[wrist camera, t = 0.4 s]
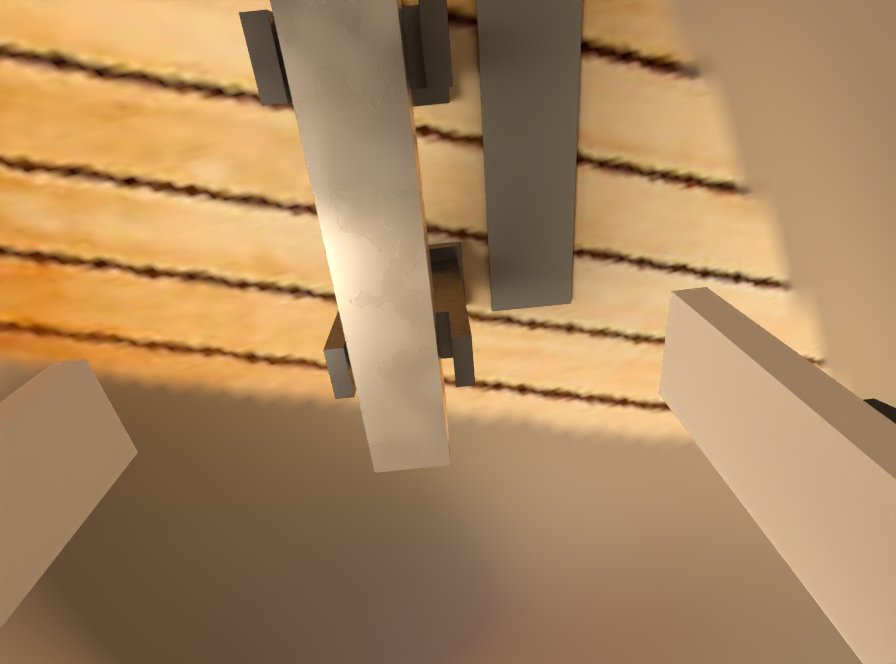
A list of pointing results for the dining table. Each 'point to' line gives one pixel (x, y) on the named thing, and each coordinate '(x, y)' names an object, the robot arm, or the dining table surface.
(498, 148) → the plank
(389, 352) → the rail
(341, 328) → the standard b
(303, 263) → the dining table surface
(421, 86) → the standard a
